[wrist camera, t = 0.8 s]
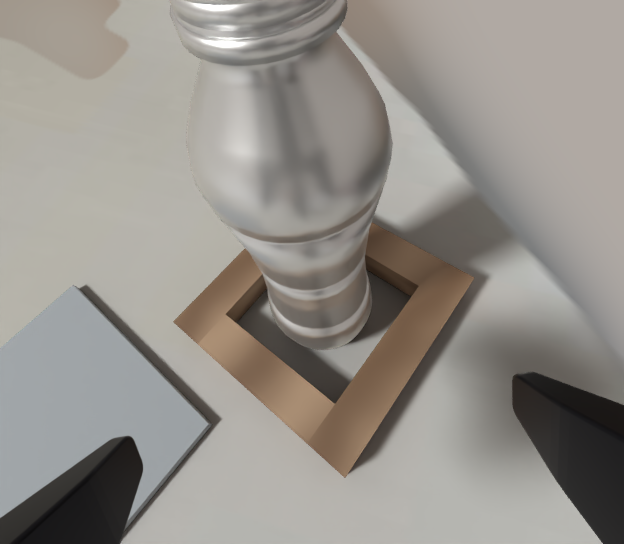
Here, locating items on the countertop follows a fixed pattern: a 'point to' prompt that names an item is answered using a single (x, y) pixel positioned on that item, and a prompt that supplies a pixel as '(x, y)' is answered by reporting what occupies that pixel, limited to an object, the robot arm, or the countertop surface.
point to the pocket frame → (372, 375)
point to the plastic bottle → (289, 153)
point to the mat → (85, 402)
